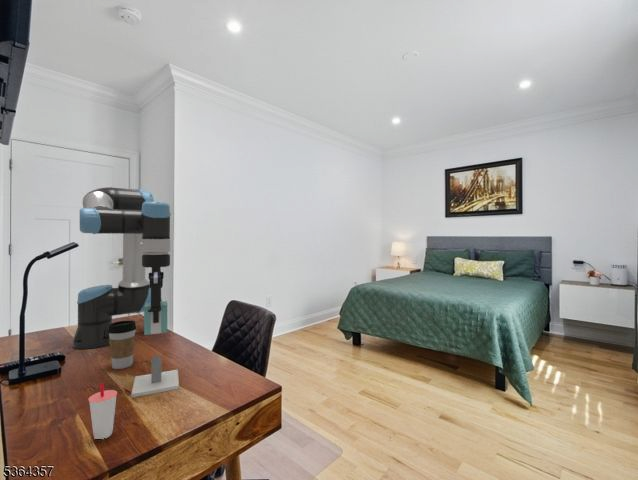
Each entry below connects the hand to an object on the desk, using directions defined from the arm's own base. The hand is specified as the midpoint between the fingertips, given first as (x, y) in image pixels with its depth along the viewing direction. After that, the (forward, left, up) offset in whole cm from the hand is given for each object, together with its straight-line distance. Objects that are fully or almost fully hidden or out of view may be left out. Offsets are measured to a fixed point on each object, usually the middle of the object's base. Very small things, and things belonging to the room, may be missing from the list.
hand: (156, 330), depth 94 cm
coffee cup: (-20, -11, -17) cm, 28 cm away
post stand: (0, 0, -16) cm, 16 cm away
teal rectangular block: (0, 0, 0) cm, 0 cm away
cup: (+22, -10, -17) cm, 29 cm away
